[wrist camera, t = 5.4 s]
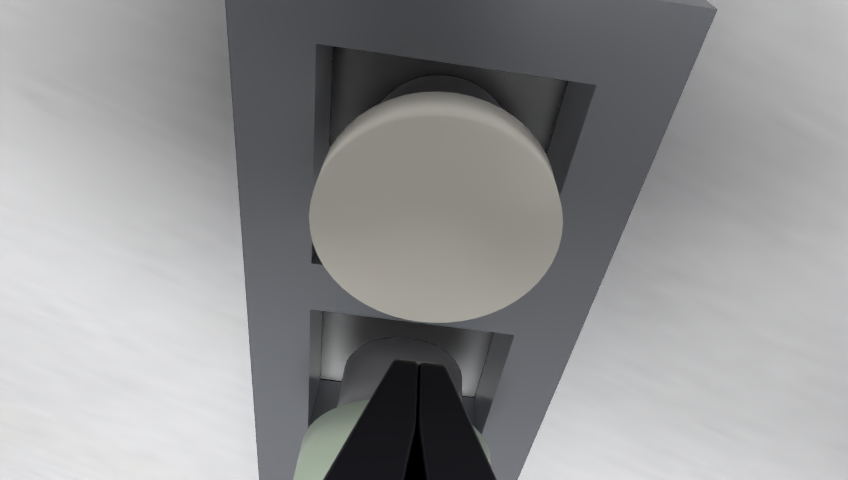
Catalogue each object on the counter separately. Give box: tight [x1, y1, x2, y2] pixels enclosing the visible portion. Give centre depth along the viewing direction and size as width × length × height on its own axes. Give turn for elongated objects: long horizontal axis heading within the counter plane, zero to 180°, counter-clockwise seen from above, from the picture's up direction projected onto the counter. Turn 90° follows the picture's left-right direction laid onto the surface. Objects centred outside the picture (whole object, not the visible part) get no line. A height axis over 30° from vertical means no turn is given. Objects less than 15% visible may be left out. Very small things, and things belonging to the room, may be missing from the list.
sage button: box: [293, 337, 491, 480], centre depth 18 cm, size 6×6×4 cm
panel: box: [225, 0, 717, 480], centre depth 20 cm, size 10×26×2 cm, turn 172°
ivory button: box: [309, 75, 563, 323], centre depth 15 cm, size 6×6×4 cm
